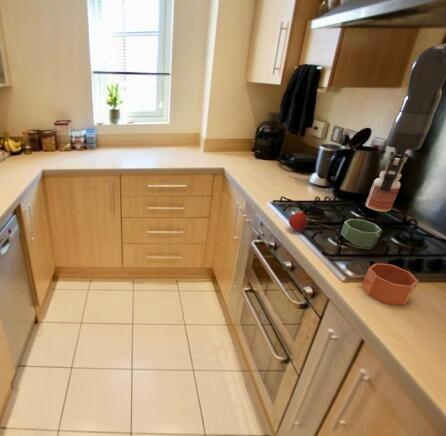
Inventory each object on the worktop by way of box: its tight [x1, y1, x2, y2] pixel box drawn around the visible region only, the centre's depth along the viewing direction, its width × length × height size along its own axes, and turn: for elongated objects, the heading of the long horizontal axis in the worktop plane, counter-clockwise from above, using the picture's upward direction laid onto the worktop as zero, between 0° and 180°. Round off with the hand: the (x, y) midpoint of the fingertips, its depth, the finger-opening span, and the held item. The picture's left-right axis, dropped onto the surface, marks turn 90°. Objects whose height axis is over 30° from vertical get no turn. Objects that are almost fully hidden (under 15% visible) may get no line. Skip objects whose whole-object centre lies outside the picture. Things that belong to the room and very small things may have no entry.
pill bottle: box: [365, 170, 402, 212], centre depth 93 cm, size 6×6×11 cm
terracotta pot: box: [361, 262, 420, 306], centre depth 83 cm, size 9×9×6 cm
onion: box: [288, 210, 309, 232], centre depth 112 cm, size 6×6×8 cm
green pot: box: [339, 218, 383, 250], centre depth 105 cm, size 9×9×6 cm
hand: (385, 187), depth 92 cm, fingers closed on pill bottle, 6 cm apart
